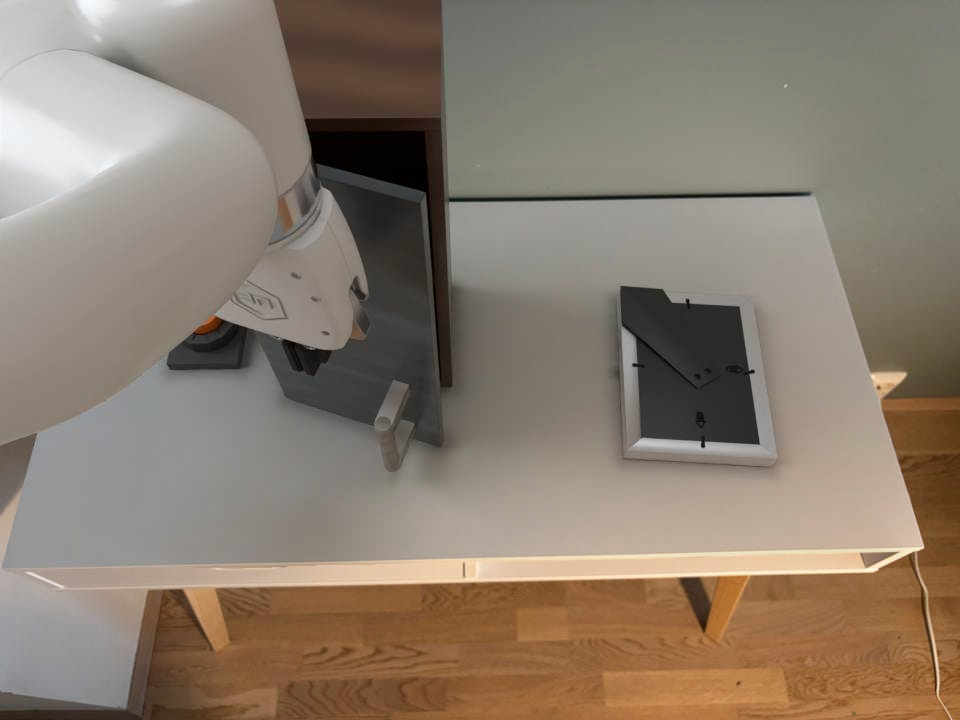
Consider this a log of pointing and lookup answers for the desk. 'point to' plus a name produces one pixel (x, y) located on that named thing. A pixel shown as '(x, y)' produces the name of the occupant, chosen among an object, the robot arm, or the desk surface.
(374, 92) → the cupboard
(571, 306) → the desk surface
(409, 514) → the desk surface
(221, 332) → the control block
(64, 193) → the robot arm
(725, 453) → the picture frame
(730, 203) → the desk surface
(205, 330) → the button
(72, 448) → the desk surface
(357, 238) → the cupboard door
